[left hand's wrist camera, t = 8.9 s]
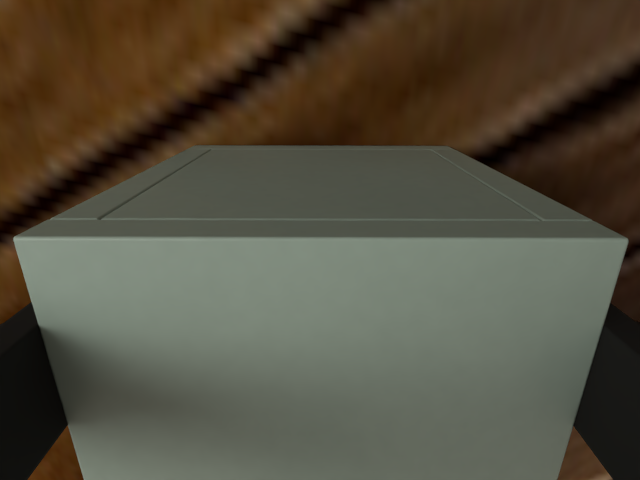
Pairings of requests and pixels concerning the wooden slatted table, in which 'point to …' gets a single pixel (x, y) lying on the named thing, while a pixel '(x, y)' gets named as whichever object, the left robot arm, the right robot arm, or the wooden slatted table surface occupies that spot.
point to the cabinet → (320, 317)
